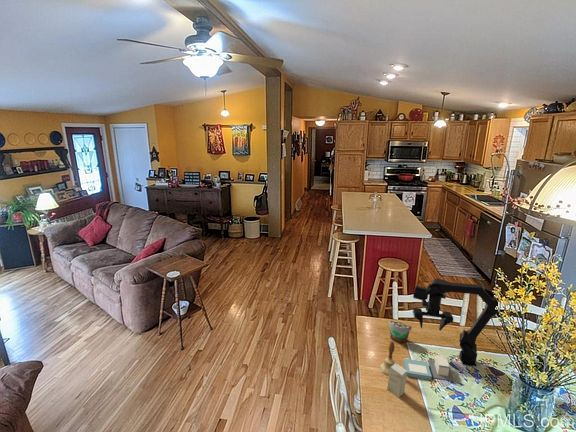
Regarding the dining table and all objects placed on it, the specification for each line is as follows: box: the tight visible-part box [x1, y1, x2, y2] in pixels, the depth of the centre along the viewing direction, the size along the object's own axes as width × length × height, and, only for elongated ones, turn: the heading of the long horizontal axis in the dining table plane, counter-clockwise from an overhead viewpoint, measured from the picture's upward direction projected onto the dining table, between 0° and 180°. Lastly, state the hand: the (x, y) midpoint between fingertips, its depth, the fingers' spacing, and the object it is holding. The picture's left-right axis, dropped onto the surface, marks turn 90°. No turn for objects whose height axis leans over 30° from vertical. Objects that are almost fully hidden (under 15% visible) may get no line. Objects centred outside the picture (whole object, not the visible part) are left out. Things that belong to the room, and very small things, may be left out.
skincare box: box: [387, 362, 408, 398], centre depth 137 cm, size 6×4×12 cm
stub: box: [434, 354, 451, 376], centre depth 149 cm, size 4×7×6 cm, turn 167°
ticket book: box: [403, 357, 433, 381], centre depth 150 cm, size 11×10×2 cm
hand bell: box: [379, 340, 396, 376], centre depth 149 cm, size 8×8×16 cm
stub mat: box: [427, 359, 456, 383], centre depth 150 cm, size 10×12×1 cm
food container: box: [388, 319, 413, 344], centre depth 171 cm, size 12×6×10 cm, turn 62°
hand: (430, 328), depth 163 cm, fingers open, 9 cm apart
